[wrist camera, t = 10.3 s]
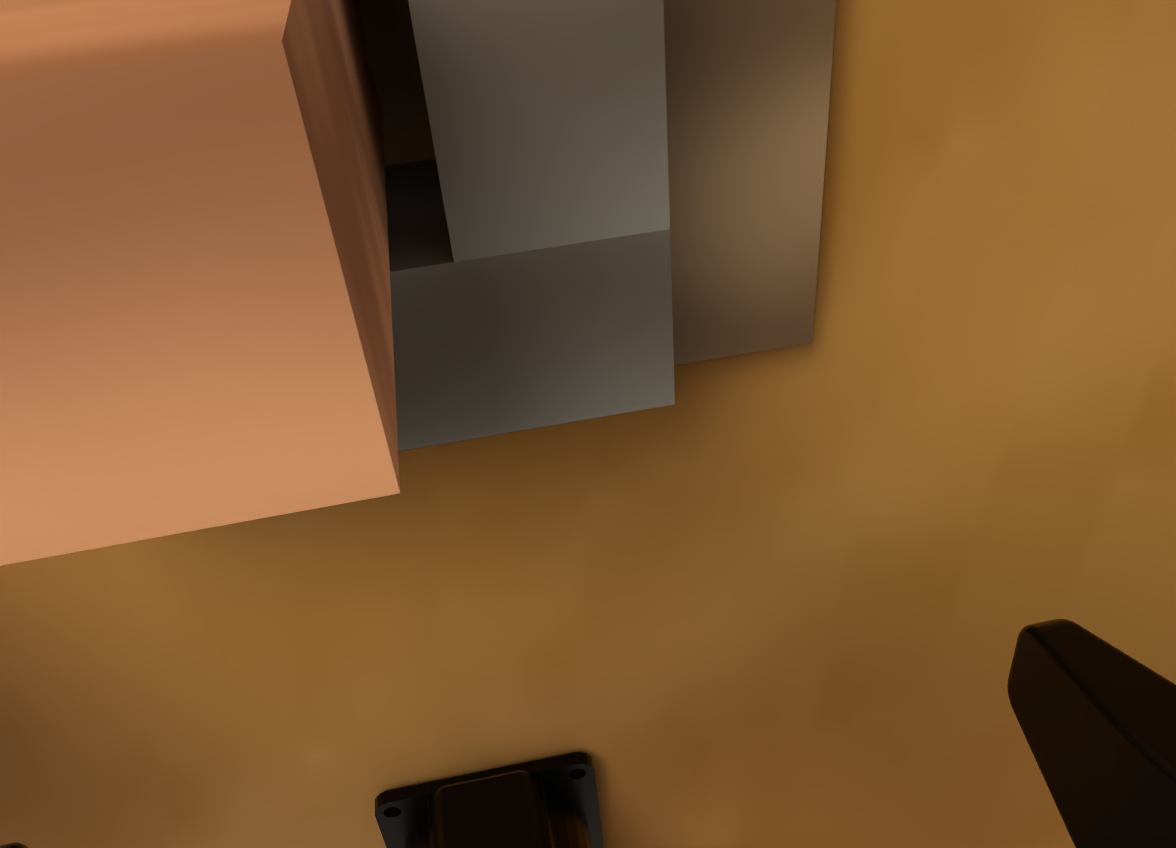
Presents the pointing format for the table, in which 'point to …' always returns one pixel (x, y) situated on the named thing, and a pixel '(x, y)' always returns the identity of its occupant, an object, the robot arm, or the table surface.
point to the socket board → (710, 161)
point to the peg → (189, 269)
